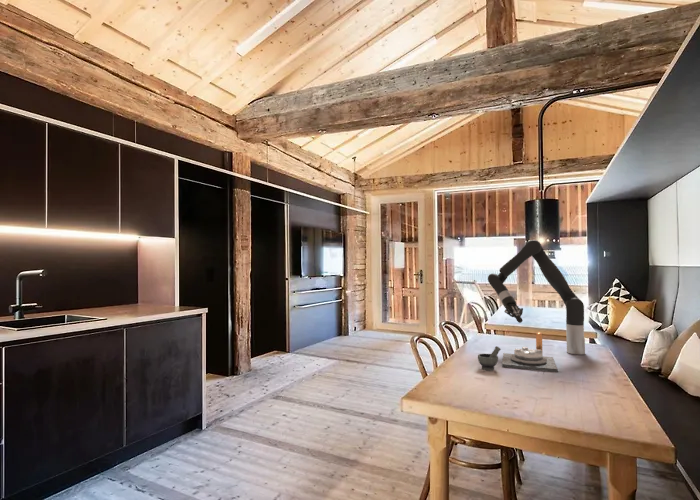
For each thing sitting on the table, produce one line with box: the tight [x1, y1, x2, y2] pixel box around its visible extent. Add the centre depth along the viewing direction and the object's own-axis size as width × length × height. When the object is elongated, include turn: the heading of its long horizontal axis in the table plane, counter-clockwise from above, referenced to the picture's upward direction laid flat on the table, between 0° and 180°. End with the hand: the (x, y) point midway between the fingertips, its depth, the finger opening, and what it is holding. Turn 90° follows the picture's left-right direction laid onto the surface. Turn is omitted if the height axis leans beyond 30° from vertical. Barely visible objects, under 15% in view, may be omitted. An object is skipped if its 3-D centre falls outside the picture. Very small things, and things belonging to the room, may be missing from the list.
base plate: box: [501, 352, 559, 373], centre depth 212 cm, size 26×26×3 cm
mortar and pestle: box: [477, 346, 501, 372], centre depth 201 cm, size 11×9×12 cm
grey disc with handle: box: [513, 332, 544, 361], centre depth 214 cm, size 21×14×12 cm
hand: (520, 321), depth 234 cm, fingers closed
